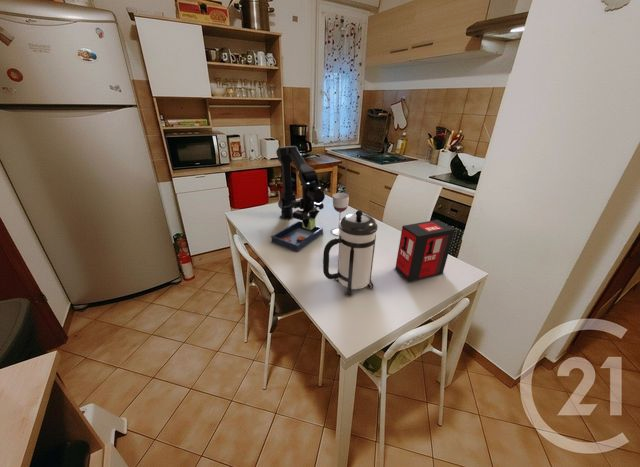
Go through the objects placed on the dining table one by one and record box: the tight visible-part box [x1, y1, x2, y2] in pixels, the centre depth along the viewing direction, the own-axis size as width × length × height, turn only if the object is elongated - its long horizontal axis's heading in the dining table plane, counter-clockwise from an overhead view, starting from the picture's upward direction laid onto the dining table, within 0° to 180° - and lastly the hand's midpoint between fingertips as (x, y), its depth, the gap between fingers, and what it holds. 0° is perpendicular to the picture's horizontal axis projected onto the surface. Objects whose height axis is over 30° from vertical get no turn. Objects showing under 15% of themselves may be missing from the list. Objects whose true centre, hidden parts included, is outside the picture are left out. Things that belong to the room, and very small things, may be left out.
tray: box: [271, 220, 324, 253], centre depth 130 cm, size 22×16×3 cm
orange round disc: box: [297, 236, 305, 241], centre depth 128 cm, size 4×4×1 cm
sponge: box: [301, 218, 316, 230], centre depth 131 cm, size 4×5×4 cm
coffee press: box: [322, 209, 379, 296], centre depth 92 cm, size 17×16×30 cm
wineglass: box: [331, 192, 350, 236], centre depth 132 cm, size 8×9×20 cm
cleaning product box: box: [394, 219, 456, 283], centre depth 102 cm, size 16×9×20 cm, turn 110°
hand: (308, 225), depth 132 cm, fingers closed on sponge, 4 cm apart
